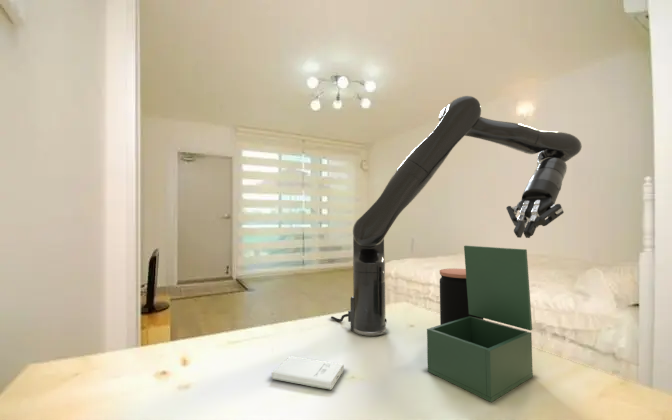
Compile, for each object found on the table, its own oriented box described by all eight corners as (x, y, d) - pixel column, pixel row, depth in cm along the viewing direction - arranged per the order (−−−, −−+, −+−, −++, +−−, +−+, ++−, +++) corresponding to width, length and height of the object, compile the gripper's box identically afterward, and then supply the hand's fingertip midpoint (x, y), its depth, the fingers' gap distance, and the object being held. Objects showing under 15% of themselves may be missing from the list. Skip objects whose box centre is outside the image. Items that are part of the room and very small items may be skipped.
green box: (491, 402, 54) (490, 350, 54) (427, 371, 65) (426, 328, 65) (532, 376, 62) (531, 332, 63) (470, 353, 74) (469, 315, 74)
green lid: (524, 249, 62) (526, 249, 63) (463, 245, 74) (465, 245, 74) (530, 330, 63) (532, 329, 63) (468, 314, 74) (470, 313, 74)
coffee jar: (475, 333, 87) (474, 268, 88) (490, 348, 76) (488, 275, 77) (436, 331, 88) (435, 268, 89) (446, 347, 77) (444, 274, 78)
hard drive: (290, 362, 69) (343, 370, 65) (271, 380, 61) (330, 391, 57) (290, 355, 69) (343, 363, 65) (271, 371, 61) (330, 382, 57)
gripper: (511, 180, 88) (488, 224, 80) (568, 174, 76) (548, 224, 69) (520, 200, 90) (500, 244, 83) (577, 197, 79) (559, 247, 72)
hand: (522, 235), depth 76 cm, fingers closed
